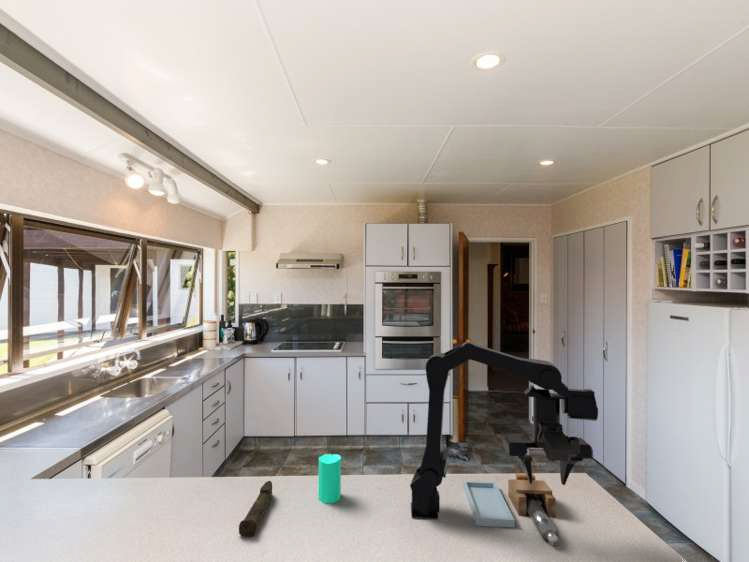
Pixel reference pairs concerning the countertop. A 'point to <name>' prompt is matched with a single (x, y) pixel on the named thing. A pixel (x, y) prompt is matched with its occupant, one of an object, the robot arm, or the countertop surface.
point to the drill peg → (542, 522)
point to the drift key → (528, 495)
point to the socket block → (537, 487)
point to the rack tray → (487, 504)
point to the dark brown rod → (256, 511)
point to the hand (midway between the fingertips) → (546, 483)
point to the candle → (329, 478)
